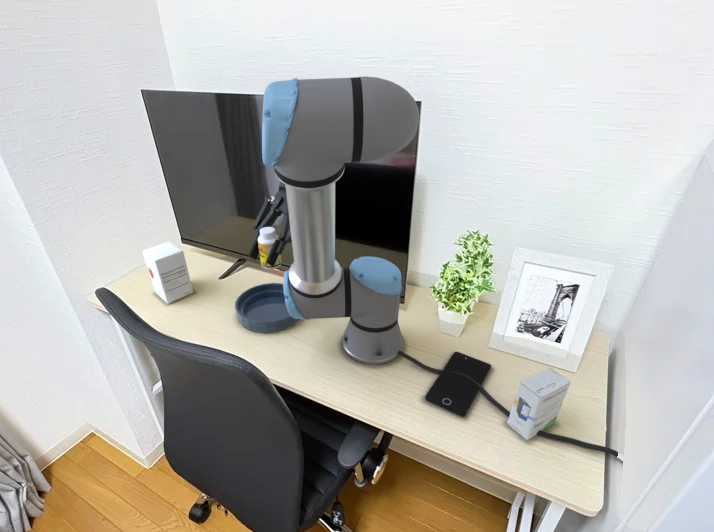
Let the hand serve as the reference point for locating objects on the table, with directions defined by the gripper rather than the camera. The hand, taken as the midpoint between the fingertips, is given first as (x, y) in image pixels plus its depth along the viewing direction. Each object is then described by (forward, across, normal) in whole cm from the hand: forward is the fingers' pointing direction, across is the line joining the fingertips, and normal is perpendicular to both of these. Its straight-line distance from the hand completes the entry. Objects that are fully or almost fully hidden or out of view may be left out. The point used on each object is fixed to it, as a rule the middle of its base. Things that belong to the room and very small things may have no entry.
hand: (260, 260), depth 107 cm
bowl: (+11, +1, -14) cm, 18 cm away
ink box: (+10, -69, -16) cm, 72 cm away
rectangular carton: (+18, +33, -8) cm, 38 cm away
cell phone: (+8, -53, -18) cm, 57 cm away
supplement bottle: (0, 0, -5) cm, 5 cm away
